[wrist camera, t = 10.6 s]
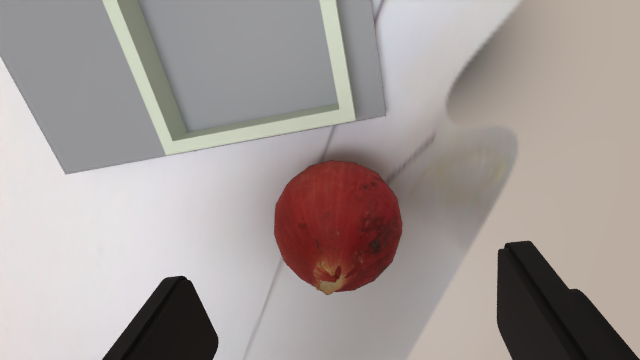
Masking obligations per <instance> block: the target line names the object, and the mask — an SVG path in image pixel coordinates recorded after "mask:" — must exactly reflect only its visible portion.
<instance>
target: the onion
mask: <svg viewBox="0 0 640 360" xmlns="http://www.w3.org/2000/svg"><path fill="white" fill-rule="evenodd" d="M401 234H402V220H401V215H400V210H399V205H398V199H397V197H396V196H395V194H394V193H393V191H392V190H391V189H390V188H389V186H388V185H387V184H386V183H385V182H384V181H383V179H382V178H381V177H380V176H379V175H378V173H376V172H374V171H372V170H370V169H368V168H365V167H363V166H361V165H359V164H356V163H352V162H343V161H333V160H331V161H327V162H323V163H319V164H315V165H312V166H309V167H308V168H306V169H305V170H304V171H302V172H301V173H300V174H298V175H297V176H295V177H294V178H293V179H292V180H291V181H290V182H289V183H288V184H287V185H286V187H285V189H284V191H283V193H282V194H281V196H280V198H279V200H278V202H277V203H276V208H275V226H274V235H275V238H276V242H277V244H278V247H279V250H280V252H281V255H282V257H283V260H284V261H285V263H286V264H287V265H288V266H289V267H290V268H291V269H292V270H293V271H294V272H295V273H296V274H297V275H298V276H299V277H300V278H301V279H302V280H304V281H306V282H307V283H309V284H311V285H313V286H314V287H316V288H317V290H320V291H322V292H324V293H325V294H326V295H329V294H332V293H333V292H343V291H352V290H356V289H357V288H360V287H362V286H364V285H366V284H368V283H370V282H372V281H374V280H375V279H376V278H377V277H378V276H379V275H380V274H381V273H382V272H383V271H384V270H385V269H386V268H387V267H388V266H389V265H390V264H391V263H392V261H393V258H394V256H395V253H396V250H397V247H398V243H399V240H400V237H401Z"/></svg>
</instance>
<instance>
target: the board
mask: <svg viewBox="0 0 640 360" xmlns="http://www.w3.org/2000/svg"><path fill="white" fill-rule="evenodd" d="M138 3H139V5H140V8H141V11H142V13H143V16H144V19H145V21H146V24H147V27H148V29H149V32H150V35H151V37H152V40H153V43H154V45H155V48H156V51H157V53H158V56H159V58H160V61H161V64H162V66H163V69H164V72H165V74H166V77H167V80H168V82H169V85H170V88H171V90H172V93H173V96H174V98H175V101H176V104H177V106H178V109H179V112H180V114H181V117H182V120H183V122H184V125H185V128H186V130H187V133H189V132H194V131H199V130H204V129H209V128H214V127H220V126H225V125H230V124H235V123H240V122H245V121H250V120H256V119H261V118H266V117H271V116H276V115H281V114H287V113H292V112H297V111H302V110H307V109H312V108H317V107H323V106H328V105H333V104H338V98H337V93H336V88H335V82H334V77H333V71H332V66H331V61H330V55H329V50H328V44H327V39H326V34H325V28H324V23H323V17H322V12H321V7H320V1H319V0H138ZM337 6H338V12H339V18H340V24H341V30H342V36H343V42H344V48H345V54H346V60H347V66H348V72H349V78H350V84H351V90H352V96H353V102H354V108H355V116H356V121H361V120H366V119H371V118H377V117H382V116H386V112H385V104H384V96H383V89H382V81H381V73H380V66H379V58H378V51H377V43H376V35H375V28H374V20H373V12H372V5H371V0H337ZM0 57H1V58H2V60H3V62H4V64H5V66H6V68H7V69H8V71H9V73H10V75H11V77H12V78H13V80H14V82H15V84H16V86H17V87H18V89H19V91H20V93H21V95H22V96H23V98H24V100H25V102H26V104H27V106H28V107H29V109H30V111H31V113H32V115H33V116H34V118H35V120H36V122H37V124H38V125H39V127H40V129H41V131H42V133H43V135H44V136H45V138H46V140H47V142H48V144H49V145H50V147H51V149H52V151H53V153H54V154H55V156H56V158H57V160H58V162H59V164H60V165H61V167H62V169H63V171H64V173H65V174H71V173H77V172H82V171H88V170H93V169H98V168H104V167H109V166H115V165H120V164H126V163H131V162H137V161H142V160H148V159H153V158H159V157H164V156H169V155H166V154H165V151H164V149H163V146H162V144H161V142H160V139H159V137H158V134H157V132H156V129H155V127H154V125H153V122H152V120H151V117H150V115H149V112H148V110H147V108H146V105H145V103H144V100H143V98H142V95H141V93H140V91H139V88H138V86H137V83H136V81H135V79H134V76H133V74H132V71H131V69H130V66H129V64H128V62H127V59H126V57H125V54H124V52H123V49H122V47H121V45H120V42H119V40H118V37H117V35H116V33H115V30H114V28H113V25H112V23H111V20H110V18H109V16H108V13H107V11H106V8H105V6H104V3H103V1H102V0H0ZM350 122H355V121H350ZM350 122H345V123H350ZM339 124H344V123H339ZM339 124H334V125H339ZM328 126H333V125H328ZM328 126H323V127H328ZM318 128H322V127H318ZM312 129H317V128H312ZM307 130H311V129H307ZM301 131H306V130H301ZM296 132H300V131H296ZM290 133H295V132H290ZM290 133H285V134H290ZM279 135H284V134H279ZM279 135H274V136H279ZM269 137H273V136H269ZM263 138H268V137H263ZM258 139H262V138H258ZM252 140H257V139H252ZM247 141H251V140H247ZM241 142H246V141H241ZM236 143H240V142H236ZM230 144H235V143H230ZM230 144H225V145H230ZM220 146H224V145H220ZM214 147H219V146H214ZM209 148H213V147H209ZM203 149H208V148H203ZM198 150H202V149H198ZM192 151H197V150H192ZM187 152H191V151H187ZM181 153H186V152H181ZM176 154H180V153H176ZM171 155H175V154H171Z"/></svg>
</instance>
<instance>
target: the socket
mask: <svg viewBox="0 0 640 360" xmlns="http://www.w3.org/2000/svg"><path fill="white" fill-rule="evenodd" d="M102 1H103V3H104V6H105V8H106V11H107V13H108V16H109V18H110V20H111V23H112V25H113V28H114V30H115V33H116V35H117V37H118V40H119V42H120V45H121V47H122V49H123V52H124V54H125V57H126V59H127V62H128V64H129V66H130V69H131V71H132V74H133V76H134V79H135V81H136V83H137V86H138V88H139V91H140V93H141V95H142V98H143V100H144V103H145V105H146V108H147V110H148V112H149V115H150V117H151V120H152V122H153V125H154V127H155V129H156V132H157V134H158V137H159V139H160V142H161V144H162V146H163V149H164V151H165V154H166V155H171V154H176V153H181V152H187V151H192V150H198V149H203V148H209V147H214V146H220V145H225V144H230V143H236V142H241V141H247V140H252V139H258V138H263V137H269V136H274V135H279V134H285V133H290V132H296V131H301V130H307V129H312V128H318V127H323V126H328V125H334V124H339V123H345V122H350V121H356V116H355V108H354V102H353V96H352V90H351V84H350V78H349V72H348V66H347V60H346V54H345V48H344V42H343V36H342V30H341V24H340V18H339V12H338V6H337V0H319V1H320V7H321V12H322V17H323V23H324V28H325V34H326V39H327V44H328V50H329V55H330V61H331V66H332V71H333V77H334V82H335V88H336V93H337V98H338V104H333V105H328V106H323V107H317V108H312V109H307V110H302V111H297V112H292V113H287V114H281V115H276V116H271V117H266V118H261V119H256V120H250V121H245V122H240V123H235V124H230V125H225V126H220V127H214V128H209V129H204V130H199V131H194V132H189V133H187V130H186V128H185V125H184V122H183V120H182V117H181V114H180V112H179V109H178V106H177V104H176V101H175V98H174V96H173V93H172V90H171V88H170V85H169V82H168V80H167V77H166V74H165V72H164V69H163V66H162V64H161V61H160V58H159V56H158V53H157V51H156V48H155V45H154V43H153V40H152V37H151V35H150V32H149V29H148V27H147V24H146V21H145V19H144V16H143V13H142V11H141V8H140V5H139V3H138V0H102Z"/></svg>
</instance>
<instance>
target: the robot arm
mask: <svg viewBox="0 0 640 360" xmlns="http://www.w3.org/2000/svg"><path fill="white" fill-rule="evenodd" d="M497 324H498V328H499V331H500V333H501V336H502V338H503V340H504V342H505V344H506V346H507V349H508V351H509V353H510V355H511V357H512V359H513V360H640V359H639V358H638V357H637V356H636V355H635V354H634V352H633V351H632V350H631V349H630V348H629V346H628V345H627V344H626V343H625V342H624V340H623V339H622V338H621V337H620V336H619V334H618V333H617V332H616V331H615V330H614V329H613V327H612V326H611V325H610V324H609V323H608V321H607V320H606V319H605V318H604V317H603V315H602V314H601V313H600V312H599V311H598V310H597V308H596V307H595V306H594V305H593V303H592V302H591V301H590V300H589V299H588V298H587V296H586V295H584V293H582V292H581V291H580V290H578V289H569V288H568V287H567V286H566V285H565V284H564V282H563V281H562V280H561V278H560V277H559V276H558V275H557V274H556V272H555V271H554V270H553V268H552V267H551V266H550V265H549V263H548V262H547V261H546V260H545V258H544V257H543V256H542V255H541V253H540V252H539V251H538V250H537V248H536V247H535V246H534V245H533V243H532V242H531V241H521V242H511V243H506V244H505V246H504V249H499V250H498V281H497ZM217 348H218V336H217V334H216V332H215V330H214V328H213V326H212V323H211V321H210V319H209V317H208V315H207V313H206V311H205V309H204V307H203V305H202V303H201V301H200V298H199V296H198V294H197V292H196V290H195V288H194V286H193V284H192V282H191V281H190V280H187V278H186V277H184V276H176V277H167V278H165V279H164V280H162V282H161V283H160V284H159V286H158V287H157V288H156V290H155V291H154V292H153V293H152V295H151V296H150V297H149V299H148V300H147V301H146V303H145V304H144V305H143V307H142V308H141V309H140V311H139V312H138V313H137V315H136V316H135V317H134V318H133V320H132V321H131V322H130V324H129V325H128V326H127V328H126V329H125V330H124V332H123V333H122V334H121V336H120V337H119V338H118V340H117V341H116V342H115V343H114V345H113V346H112V347H111V349H110V350H109V351H108V353H107V354H106V355H105V357H104V358H103V359H102V360H213V358H214V355H215V353H216V351H217Z"/></svg>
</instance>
